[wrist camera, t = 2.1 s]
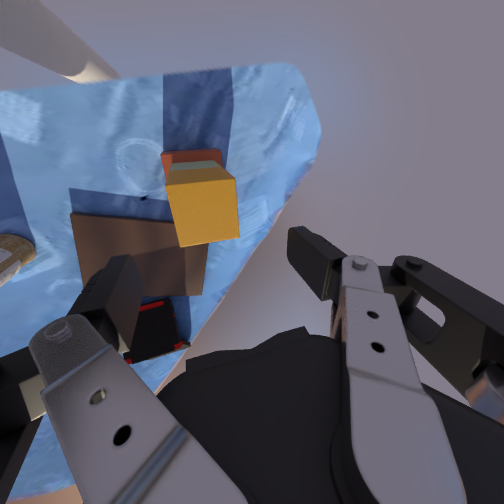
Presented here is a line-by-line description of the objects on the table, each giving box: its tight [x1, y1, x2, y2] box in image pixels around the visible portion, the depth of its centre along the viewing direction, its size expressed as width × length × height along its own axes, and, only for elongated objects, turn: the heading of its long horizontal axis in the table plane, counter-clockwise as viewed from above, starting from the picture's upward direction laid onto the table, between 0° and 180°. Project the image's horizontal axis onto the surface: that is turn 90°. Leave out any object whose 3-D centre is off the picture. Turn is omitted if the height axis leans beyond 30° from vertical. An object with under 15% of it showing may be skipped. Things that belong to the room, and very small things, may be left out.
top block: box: [165, 167, 240, 247], centre depth 18 cm, size 5×5×6 cm
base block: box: [160, 148, 223, 180], centre depth 27 cm, size 7×7×4 cm
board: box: [70, 212, 209, 297], centre depth 33 cm, size 18×14×1 cm
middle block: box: [170, 160, 221, 171], centre depth 23 cm, size 5×5×6 cm
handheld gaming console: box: [123, 298, 191, 364], centre depth 40 cm, size 9×12×10 cm
